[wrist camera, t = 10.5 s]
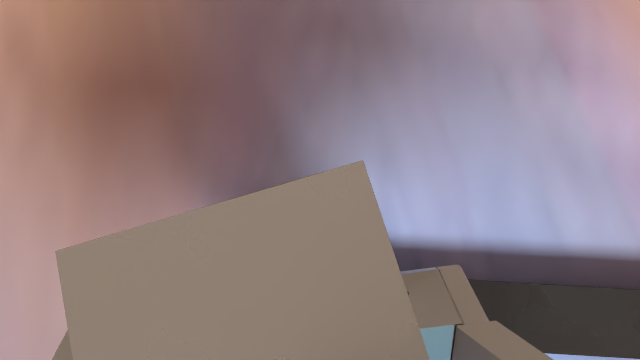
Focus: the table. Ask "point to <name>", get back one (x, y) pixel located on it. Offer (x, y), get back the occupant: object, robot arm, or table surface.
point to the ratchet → (566, 316)
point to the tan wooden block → (247, 281)
